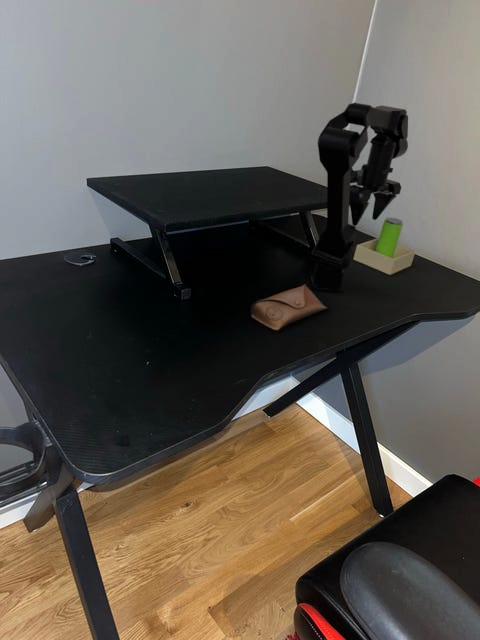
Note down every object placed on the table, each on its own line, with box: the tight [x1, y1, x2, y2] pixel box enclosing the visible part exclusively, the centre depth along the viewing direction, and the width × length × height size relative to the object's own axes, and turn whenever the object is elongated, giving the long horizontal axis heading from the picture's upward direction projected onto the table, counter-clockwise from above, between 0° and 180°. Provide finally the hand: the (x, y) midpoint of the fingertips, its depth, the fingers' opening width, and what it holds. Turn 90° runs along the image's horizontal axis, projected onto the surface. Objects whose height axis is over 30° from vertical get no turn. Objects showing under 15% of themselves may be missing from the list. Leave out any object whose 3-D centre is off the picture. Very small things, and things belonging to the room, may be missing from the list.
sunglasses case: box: [249, 283, 328, 331], centre depth 101 cm, size 18×7×7 cm
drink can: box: [376, 217, 404, 259], centre depth 131 cm, size 5×5×12 cm
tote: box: [353, 237, 416, 276], centre depth 133 cm, size 12×12×4 cm
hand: (364, 222), depth 122 cm, fingers open, 9 cm apart
